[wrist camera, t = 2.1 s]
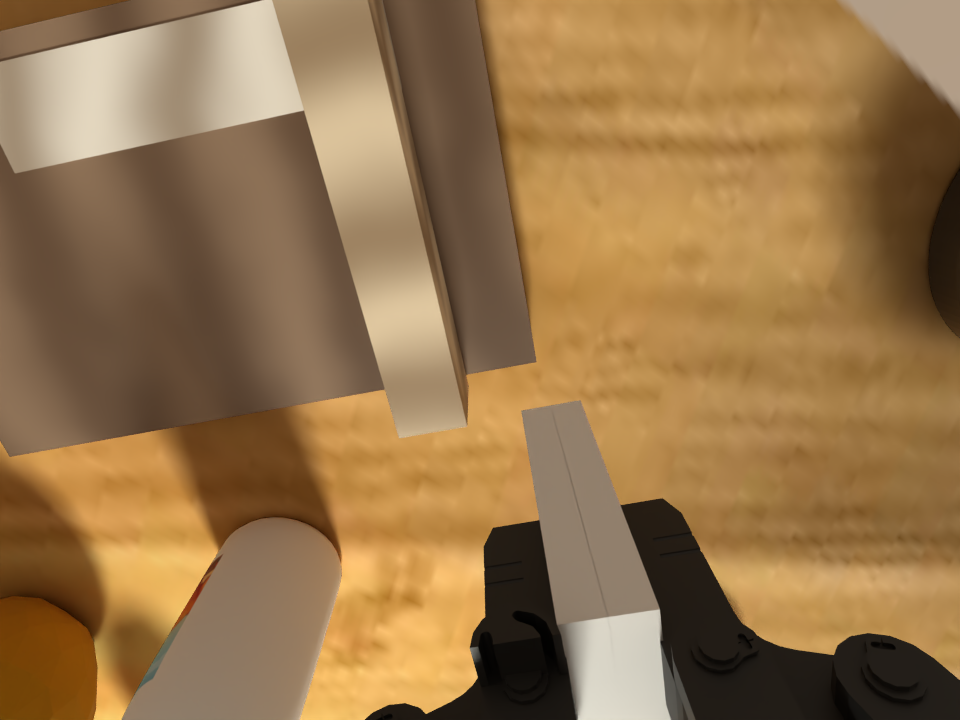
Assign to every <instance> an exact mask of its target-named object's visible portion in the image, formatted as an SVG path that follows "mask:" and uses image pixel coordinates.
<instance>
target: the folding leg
mask: <svg viewBox="0 0 960 720" xmlns="http://www.w3.org/2000/svg"><path fill="white" fill-rule="evenodd" d="M272 2H273V5H274V8H275V12H276V15H277V19H278V22H279V26H280V29H281V33H282V36H283V39H284V43H285V46H286V50H287V53H288V57H289V60H290V64H291V67H292V71H293V74H294V77H295V81H296V84H297V88H298V91H299V95H300V98H301V102H302V105H303V108H304V112H305V115H306V119H307V122H308V126H309V129H310V133H311V136H312V139H313V143H314V146H315V150H316V153H317V157H318V160H319V164H320V167H321V171H322V174H323V177H324V181H325V184H326V188H327V191H328V195H329V198H330V202H331V205H332V208H333V212H334V215H335V219H336V222H337V226H338V229H339V233H340V236H341V240H342V243H343V246H344V250H345V253H346V257H347V260H348V264H349V267H350V271H351V274H352V277H353V281H354V284H355V288H356V291H357V295H358V298H359V302H360V305H361V309H362V312H363V315H364V319H365V322H366V326H367V329H368V333H369V336H370V340H371V343H372V346H373V350H374V353H375V357H376V360H377V364H378V367H379V371H380V374H381V378H382V381H383V384H384V388H385V391H386V395H387V398H388V402H389V405H390V409H391V412H392V415H393V419H394V422H395V426H396V429H397V433H398V436H399V438H404V437H410V436H415V435H421V434H427V433H433V432H438V431H444V430H450V429H456V428H461V427H467V417H468V387H469V386H468V382H467V377H466V373H465V368H464V364H463V359H462V355H461V351H460V346H459V342H458V337H457V333H456V328H455V324H454V319H453V315H452V311H451V306H450V302H449V297H448V293H447V288H446V284H445V279H444V275H443V271H442V266H441V262H440V257H439V253H438V248H437V244H436V240H435V235H434V231H433V226H432V222H431V217H430V213H429V208H428V204H427V200H426V195H425V191H424V186H423V182H422V177H421V173H420V168H419V164H418V160H417V155H416V151H415V146H414V142H413V137H412V133H411V129H410V124H409V120H408V115H407V111H406V106H405V102H404V97H403V93H402V89H401V84H400V80H399V75H398V71H397V66H396V62H395V57H394V53H393V49H392V44H391V40H390V35H389V31H388V26H387V22H386V18H385V13H384V9H383V4H382V0H272Z"/></svg>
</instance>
